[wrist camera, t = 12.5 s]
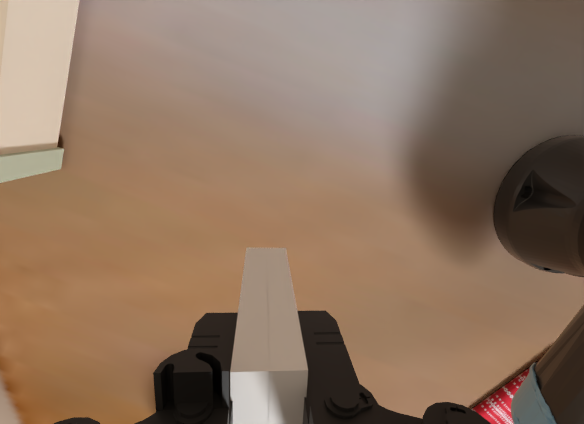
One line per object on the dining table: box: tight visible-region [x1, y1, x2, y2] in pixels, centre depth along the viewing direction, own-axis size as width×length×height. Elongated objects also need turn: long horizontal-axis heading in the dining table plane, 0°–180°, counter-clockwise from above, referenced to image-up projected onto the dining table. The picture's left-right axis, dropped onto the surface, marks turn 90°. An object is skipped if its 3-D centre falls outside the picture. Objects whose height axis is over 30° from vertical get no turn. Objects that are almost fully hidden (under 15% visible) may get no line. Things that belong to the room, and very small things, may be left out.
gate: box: [0, 0, 79, 183], centre depth 23 cm, size 25×3×12 cm, turn 162°
